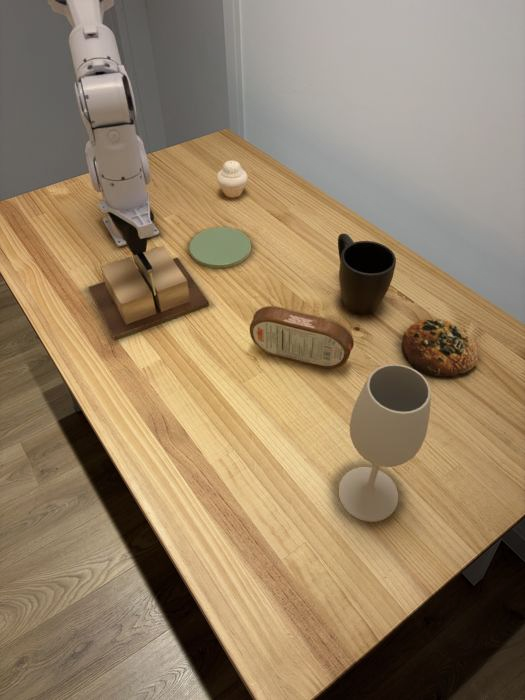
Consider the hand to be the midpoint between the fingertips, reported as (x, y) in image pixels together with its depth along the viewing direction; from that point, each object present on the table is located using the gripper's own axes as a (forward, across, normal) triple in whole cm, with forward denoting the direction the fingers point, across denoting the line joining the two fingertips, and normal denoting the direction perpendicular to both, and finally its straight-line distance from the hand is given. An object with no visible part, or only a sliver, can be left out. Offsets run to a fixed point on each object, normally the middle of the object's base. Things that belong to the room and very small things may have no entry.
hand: (138, 251), depth 84 cm
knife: (+5, -3, 0) cm, 6 cm away
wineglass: (+10, +46, +11) cm, 48 cm away
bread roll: (+10, +32, +34) cm, 48 cm away
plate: (+10, -6, +16) cm, 20 cm away
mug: (+10, +16, +30) cm, 35 cm away
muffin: (+10, -21, +26) cm, 35 cm away
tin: (+10, +23, +15) cm, 29 cm away
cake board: (+10, 0, 0) cm, 10 cm away
